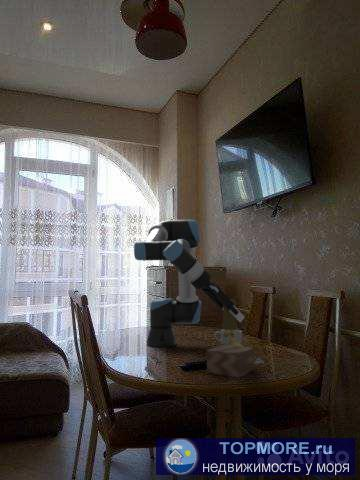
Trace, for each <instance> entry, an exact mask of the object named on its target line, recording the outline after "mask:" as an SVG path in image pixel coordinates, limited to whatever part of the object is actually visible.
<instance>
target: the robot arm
mask: <svg viewBox="0 0 360 480" xmlns="http://www.w3.org/2000/svg"><path fill="white" fill-rule="evenodd" d="M200 235H201V233H200V229H199V223H198V220H195V219H174V220H171V219H170V220H167V219H166V220H162V221H159V222H158V223H155V224H154V225H152V226H151V227H150V228H149V230H148V233H147V237H146V238H145V240H144V241H142V240H140V241H136V242H135V243H134V246H133V255H134V259H135V260H136V261H143V262H145V261H167V262H169V263H170V264H171V265H172V266H173V267H174V268H175V270H177V271H178V273H177V274H178V296H177V297H176V299H175V300H173V298H172V297H171V298H170V297H169V298H168V297H167V298H162V299H156V300H152V301H151V302H150V309H149V311H150V312H149V313H150V314H149V315H150V316H149V318H150V319H149V324H150V325H149V327H150V330H149V333H148V335H147V339H146V345H147V346H148V347H156V348H157V347H158V348H163V347H165V348H166V347H167V348H168V347H171V346H175V345H177V340H176V339H177V338H176V336H175V332H174V329H173V327H174V326H173V325H174V324H175V325H176V324H178V325H180V324H182V325H183V324H185V325H186V324H188V325H189V324H190V325H191V324H198V323H199V322H200V321H201V320H200V319H201V310H202V301H201V300H199V296H198V295H196V290H200V289H201V292H203V293H204V294H205V295H206V296H207V298H209V299H210V300H211V301H212V302H213V303H214V304H215V306H216V307H218V308H220V309H221V310H222V311H223V312H224V307H223V305H224V306H225V307H226V308H227V311H229V312H230V313H231V314H232V315H233V316H234V317H235V318H236V319H237V322H238V323H241V322H242V321H243V320H244V319H245V315H244V314H243V313H242V312H241V311H240V310H239V309H238V308H237V306H236V307H235V306H234V303H233V302H232V301H231V300H230V299H231V298H230V297H229V296H228V295H227V294H226V293H225V292H224V291H223V290H221V288H220V287H219V286H218V285H216V284H215V283H213V282H211V281H210V280H212V279H211V278H212V274H211V273H209V271H208V270H206V269H204V266H203V265H202V264H201V263H200V262H199V261H198V260H197V259H196V252H195V251H196V249H197V248H198V246H199V245H198V244H200V243H201V236H200Z"/></svg>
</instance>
